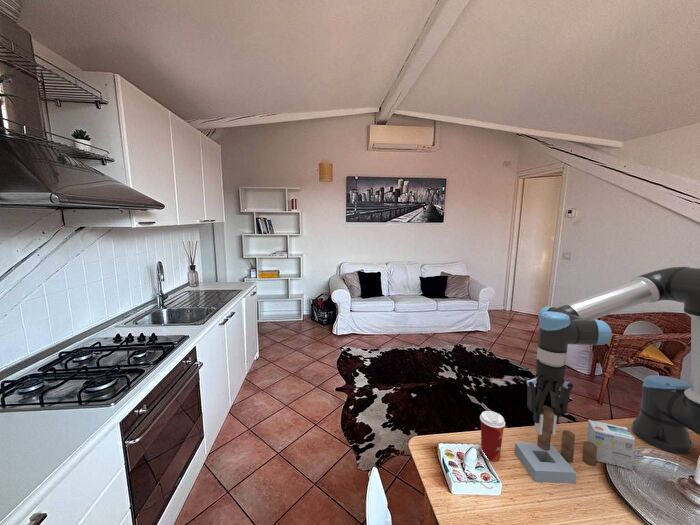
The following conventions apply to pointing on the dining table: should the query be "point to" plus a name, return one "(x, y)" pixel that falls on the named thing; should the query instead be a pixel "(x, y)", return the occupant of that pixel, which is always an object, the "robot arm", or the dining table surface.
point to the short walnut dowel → (589, 453)
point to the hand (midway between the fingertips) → (544, 431)
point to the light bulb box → (612, 443)
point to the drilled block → (545, 463)
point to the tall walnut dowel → (546, 429)
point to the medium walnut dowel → (567, 445)
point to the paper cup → (491, 434)
